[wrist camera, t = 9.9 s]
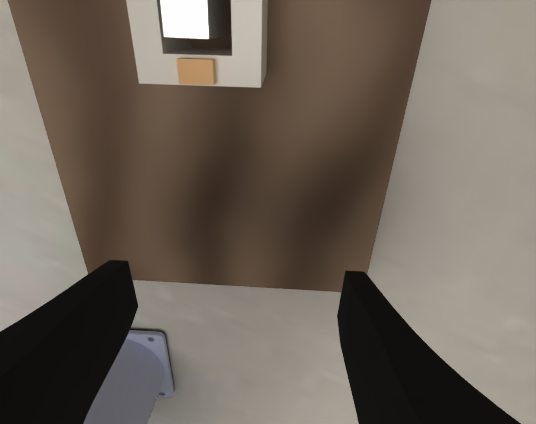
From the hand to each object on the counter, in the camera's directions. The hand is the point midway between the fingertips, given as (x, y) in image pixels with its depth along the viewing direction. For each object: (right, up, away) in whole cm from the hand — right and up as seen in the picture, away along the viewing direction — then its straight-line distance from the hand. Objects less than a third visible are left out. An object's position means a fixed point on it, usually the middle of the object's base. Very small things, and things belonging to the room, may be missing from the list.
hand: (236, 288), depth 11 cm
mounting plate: (-1, +8, +6) cm, 10 cm away
